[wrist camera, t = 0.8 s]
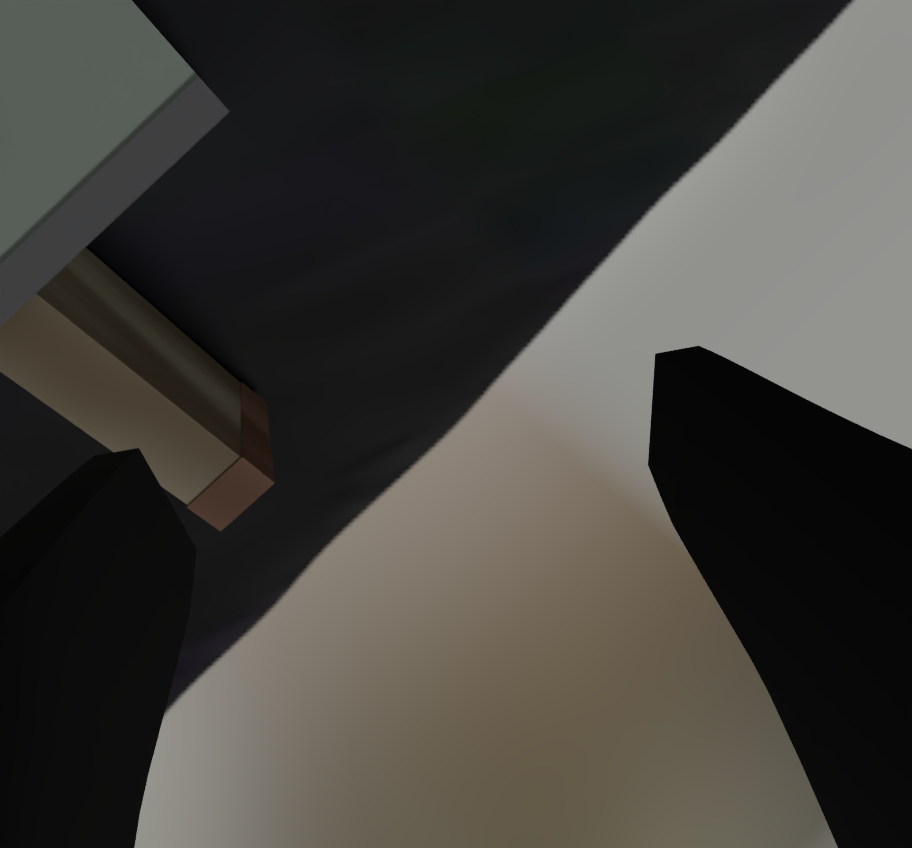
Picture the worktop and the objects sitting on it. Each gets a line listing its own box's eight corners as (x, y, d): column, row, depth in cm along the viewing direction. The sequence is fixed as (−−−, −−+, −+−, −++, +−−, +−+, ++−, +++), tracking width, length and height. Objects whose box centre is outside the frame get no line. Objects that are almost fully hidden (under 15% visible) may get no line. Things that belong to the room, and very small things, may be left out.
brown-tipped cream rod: (224, 441, 23) (220, 531, 18) (-194, 105, 16) (-399, 92, 11) (266, 403, 23) (274, 482, 18) (-137, 49, 16) (-317, 9, 11)
